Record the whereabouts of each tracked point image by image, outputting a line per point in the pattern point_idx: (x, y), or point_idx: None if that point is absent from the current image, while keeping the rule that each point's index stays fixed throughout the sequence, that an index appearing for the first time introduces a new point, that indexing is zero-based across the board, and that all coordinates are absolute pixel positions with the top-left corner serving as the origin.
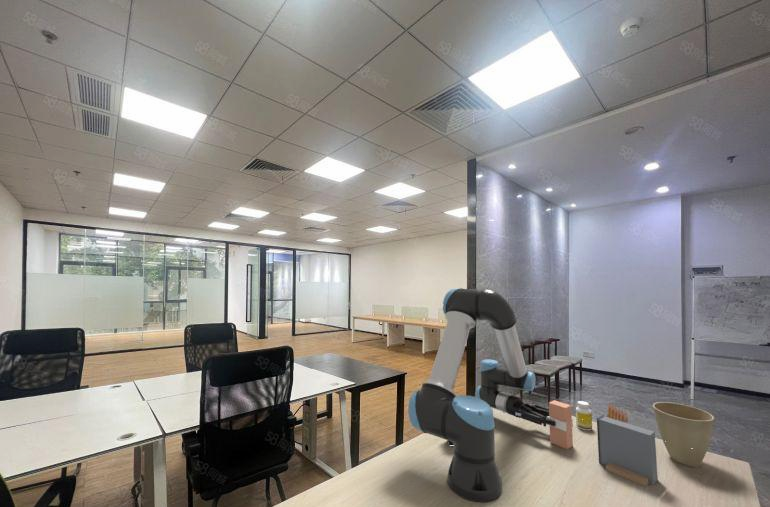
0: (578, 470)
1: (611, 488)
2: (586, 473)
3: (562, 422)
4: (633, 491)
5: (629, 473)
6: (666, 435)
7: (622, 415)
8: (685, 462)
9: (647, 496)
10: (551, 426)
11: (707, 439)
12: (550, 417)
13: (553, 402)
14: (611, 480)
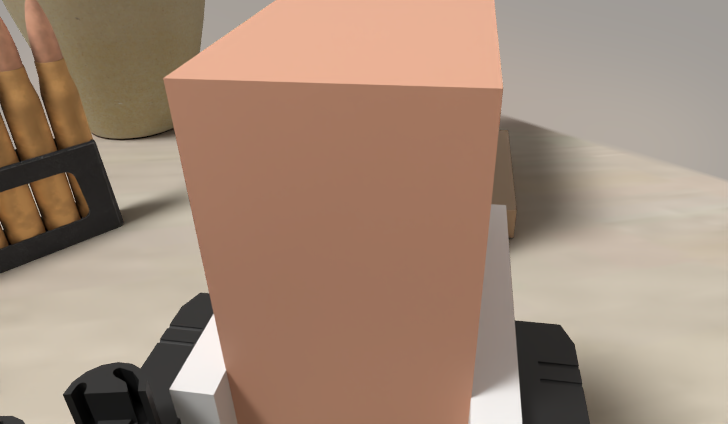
0: (689, 319)
1: (668, 205)
2: (666, 286)
3: (507, 229)
4: (588, 167)
5: (496, 158)
6: (165, 20)
7: (11, 37)
8: None
9: (572, 146)
10: None
11: None
12: (489, 372)
13: (373, 59)
14: (592, 214)
